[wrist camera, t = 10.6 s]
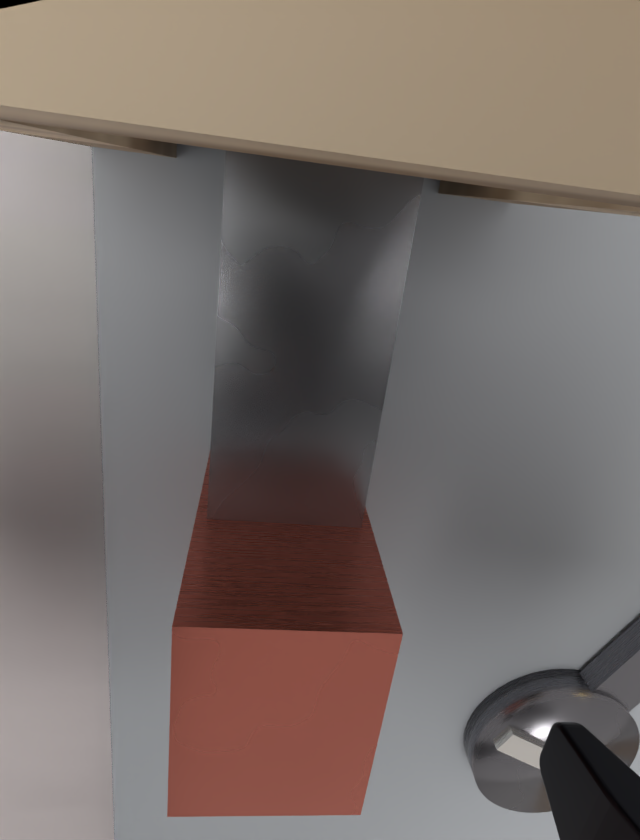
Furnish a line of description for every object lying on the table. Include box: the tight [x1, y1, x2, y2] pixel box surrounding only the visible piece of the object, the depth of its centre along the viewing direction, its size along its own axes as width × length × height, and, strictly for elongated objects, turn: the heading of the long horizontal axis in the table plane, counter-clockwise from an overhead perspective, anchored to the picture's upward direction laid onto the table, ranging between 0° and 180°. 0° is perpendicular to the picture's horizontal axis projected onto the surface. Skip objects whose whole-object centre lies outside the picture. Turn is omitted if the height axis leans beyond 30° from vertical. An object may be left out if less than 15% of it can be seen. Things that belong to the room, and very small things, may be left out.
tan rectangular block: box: [0, 0, 640, 217], centre depth 6 cm, size 3×8×9 cm, turn 83°
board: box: [92, 144, 640, 840], centre depth 15 cm, size 26×24×1 cm
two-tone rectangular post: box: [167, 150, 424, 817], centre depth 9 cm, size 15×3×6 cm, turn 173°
